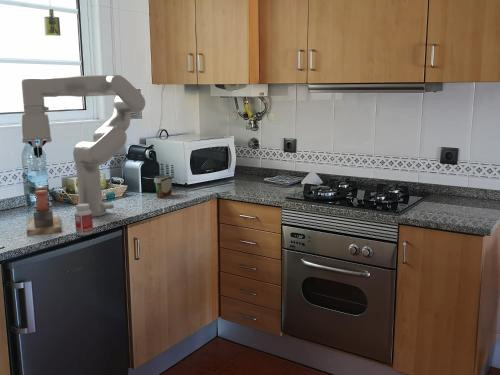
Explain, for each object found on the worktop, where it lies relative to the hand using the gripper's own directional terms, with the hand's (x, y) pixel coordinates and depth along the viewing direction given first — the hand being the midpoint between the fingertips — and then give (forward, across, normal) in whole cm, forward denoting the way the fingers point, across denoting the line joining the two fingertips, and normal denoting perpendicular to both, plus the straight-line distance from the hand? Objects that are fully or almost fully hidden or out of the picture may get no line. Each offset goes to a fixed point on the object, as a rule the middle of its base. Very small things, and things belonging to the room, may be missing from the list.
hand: (38, 157), depth 210 cm
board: (+27, 0, +6) cm, 28 cm away
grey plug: (+20, 0, 0) cm, 20 cm away
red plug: (+20, 0, +11) cm, 23 cm away
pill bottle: (+27, -14, +22) cm, 38 cm away
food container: (+27, -55, -36) cm, 71 cm away
